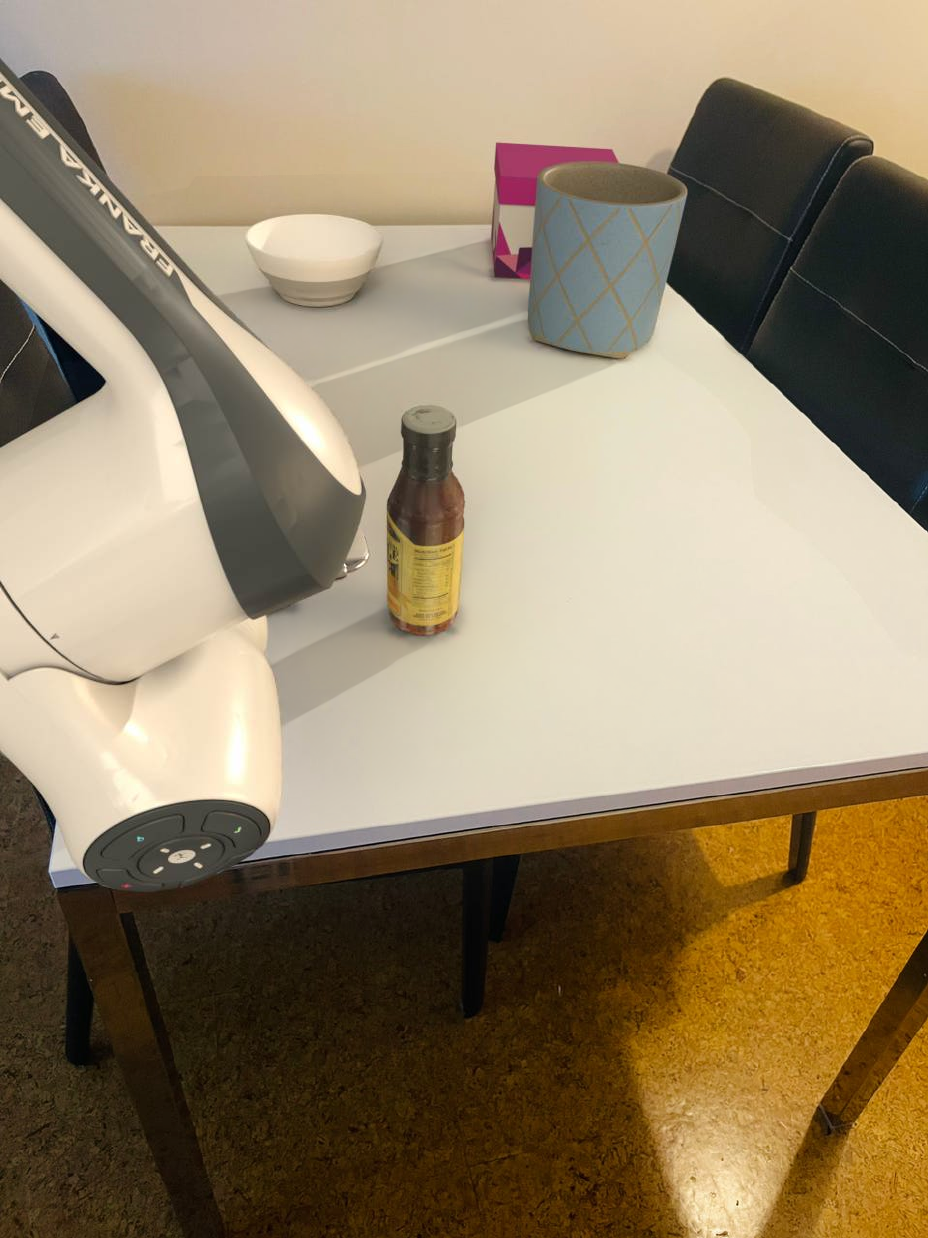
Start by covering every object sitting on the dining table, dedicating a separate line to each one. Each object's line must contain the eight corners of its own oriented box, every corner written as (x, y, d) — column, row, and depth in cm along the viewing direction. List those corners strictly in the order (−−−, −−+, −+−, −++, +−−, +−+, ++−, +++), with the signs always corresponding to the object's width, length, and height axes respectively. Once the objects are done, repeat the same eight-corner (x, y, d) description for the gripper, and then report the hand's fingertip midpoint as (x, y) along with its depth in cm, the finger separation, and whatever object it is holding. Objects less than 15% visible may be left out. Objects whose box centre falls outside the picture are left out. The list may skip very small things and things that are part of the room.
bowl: (279, 329, 121) (274, 268, 116) (231, 279, 133) (224, 222, 128) (406, 307, 129) (407, 249, 124) (350, 262, 141) (348, 207, 136)
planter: (639, 374, 117) (670, 215, 104) (503, 344, 121) (517, 188, 108) (669, 322, 130) (700, 175, 117) (545, 297, 135) (562, 152, 122)
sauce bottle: (394, 589, 81) (395, 388, 68) (462, 598, 80) (477, 398, 67) (379, 637, 76) (377, 430, 63) (452, 647, 75) (465, 441, 62)
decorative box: (492, 278, 140) (500, 175, 130) (489, 237, 154) (496, 142, 144) (612, 284, 140) (629, 183, 130) (597, 243, 155) (612, 148, 145)
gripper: (375, 525, 46) (335, 398, 56) (-64, 569, 41) (-22, 422, 51) (376, 617, 50) (339, 484, 60) (-22, 667, 45) (9, 514, 55)
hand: (170, 456), depth 55 cm, fingers closed on soda can, 5 cm apart
